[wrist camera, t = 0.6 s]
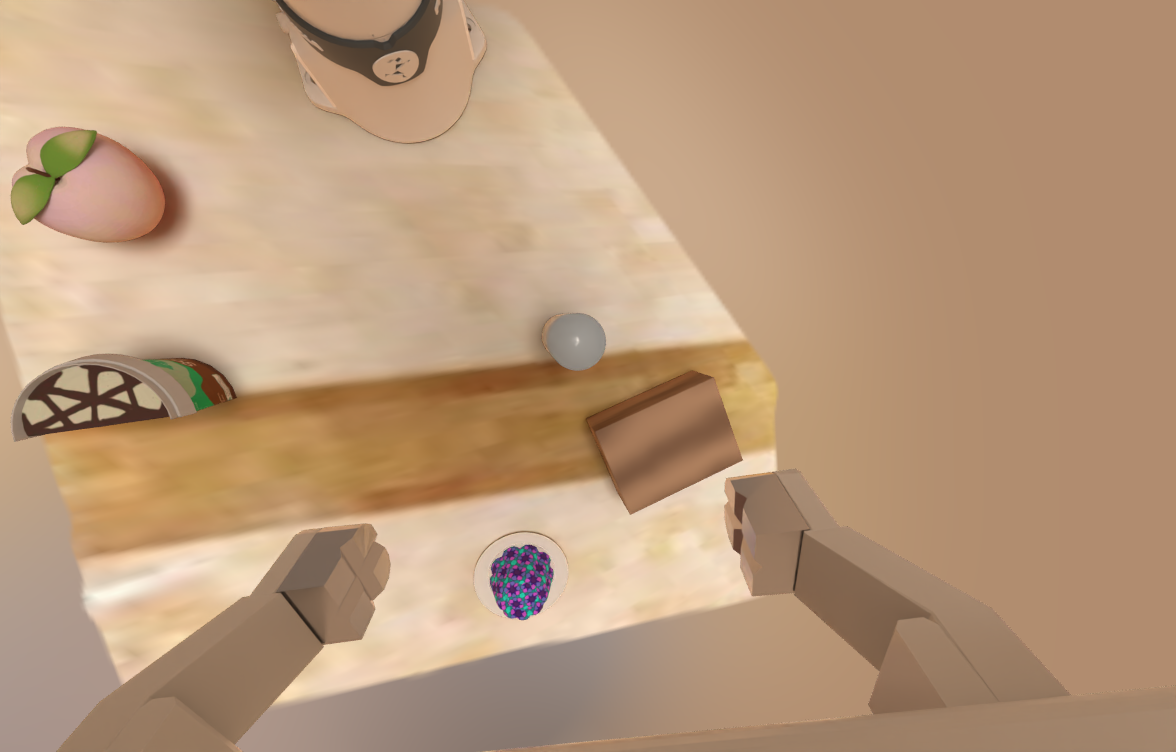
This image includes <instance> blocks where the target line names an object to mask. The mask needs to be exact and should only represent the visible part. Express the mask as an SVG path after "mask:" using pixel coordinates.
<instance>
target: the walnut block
mask: <svg viewBox="0 0 1176 752" xmlns="http://www.w3.org/2000/svg"><path fill="white" fill-rule="evenodd" d="M586 420H587V422H588V425H589V427H590V429H591V432H592V434H593V436H594V439H595V441H596V443H597V446H598V448H599V450H600V453H601V455H602V457H603V460H604V462H605V464H606V467H607V469H608V471H609V474H610V476H611V478H612V481H613V483H614V485H615V488H616V490H617V492H618V494H619V496H620V498H621V500H622V501H623V503H624V505H625V506H626V508H627V510H628V512H629V513H630V515H631V514H633V513H635V512H637V511H639V510H641V509H643V508H645V507H647V506H649V505H651V504H654V503H656V502H658V501H660V500H662V499H664V498H666V497H668V496H670V495H672V494H674V493H676V492H678V491H680V490H682V489H684V488H687V487H689V486H691V485H693V484H695V483H697V482H699V481H701V480H703V479H705V478H707V477H709V476H711V475H713V474H715V473H718V472H720V471H722V470H724V469H726V468H728V467H730V466H732V465H734V464H736V463H738V462H740V461H742V460H743V459H742V457H741V454H740V451H739V448H738V445H737V442H736V439H735V437H734V434H733V431H732V428H731V425H730V422H729V419H728V417H727V414H726V411H725V408H724V405H723V402H722V399H721V396H720V394H719V391H718V388H717V385H716V382H715V379H714V377H711V376H708V375H705V374H701V373H698V372H695V371H690V372H688V373H685V374H683V375H681V376H679V377H677V378H674V379H672V380H670V381H668V382H666V383H663V384H661V385H659V386H657V387H655V388H652V389H650V390H648V391H646V392H643V393H641V394H639V395H637V396H635V397H632V398H630V399H628V400H626V401H624V402H621V403H619V404H617V405H615V406H613V407H610V408H608V409H606V410H604V411H601V412H599V413H597V414H595V415H593V416H590V417H588V418H586Z"/></svg>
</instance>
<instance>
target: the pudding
mask: <svg viewBox="0 0 1176 752" xmlns="http://www.w3.org/2000/svg"><path fill="white" fill-rule="evenodd" d="M523 543H527V544H533V545H537V546H539V547H541V548H542V549H544V550H545V551H546V552H547V553H548V554H549V555H550V557H551V558H552V560H553V563H554V568H555V574H553V569H552V568H551V567H550V561H551V560H550V558H549V556H548V555H547V554H546V553H545V552H538V550H537V548H536V547H535V546H532V545H525V546H523V547H521V548H518V547H515V546H514V547H510V546H512V545H516V544H523ZM508 547H510V548H508ZM506 548H508V549H507V550H505V551H504V553H503V556H502V557H500V558H497V559H496V560H495V561H494V562H493V563H492V561H493V560H494V558H495V557H496V556H497V555H498V554H499V553H500V552H501V551H503V550H504V549H506ZM491 563H492V567H491V570H492V574H493V575H492V576H491V578H490V585H491V587H490V585H489V580H488V573H489V568H490V566H491ZM553 575H554V579H553ZM552 579H553V582H552ZM567 580H568V563H567V560H566V557H565V555H564V553H563V551H562V550H561V548H560V547H559V546H558V545H557V544H556V543H555V542H553V541H552V540H551V539H549V538H547V537H545V536H543V535H540V534H536V533H529V532H523V533H515V534H510V535H508V536H505V537H502V538H501V539H499V540H497V541H495V542H494V543H493V544H492V545H490V546H489V547H488V548H487V549H486V550H485V551H484V552H483V554H482V555H481V557H480V558H479V560H478V562H477V565H476V567H475V572H474V588H475V592H476V594H477V597H478V598H479V600H480V601H481V603H482V604H483V605H484V606H485V607H486V608H487V609H488V610H489V611H491V612H492V613H494V614H496V615H498V616H501V617H505V618H509V619H519V620H526V619H528V618H529V617H533V616H535V615H538V614H540V613H542V612H544V611H545V610H547V609H548V608H550V607H551V606H552V605H553V604H554V603H555V602H556V601H557V600H558V599H559V598H560V596H561V595H562V593H563V591H564V589H565V587H566V584H567ZM551 583H552V584H551ZM491 588H492V589H491Z"/></svg>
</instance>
